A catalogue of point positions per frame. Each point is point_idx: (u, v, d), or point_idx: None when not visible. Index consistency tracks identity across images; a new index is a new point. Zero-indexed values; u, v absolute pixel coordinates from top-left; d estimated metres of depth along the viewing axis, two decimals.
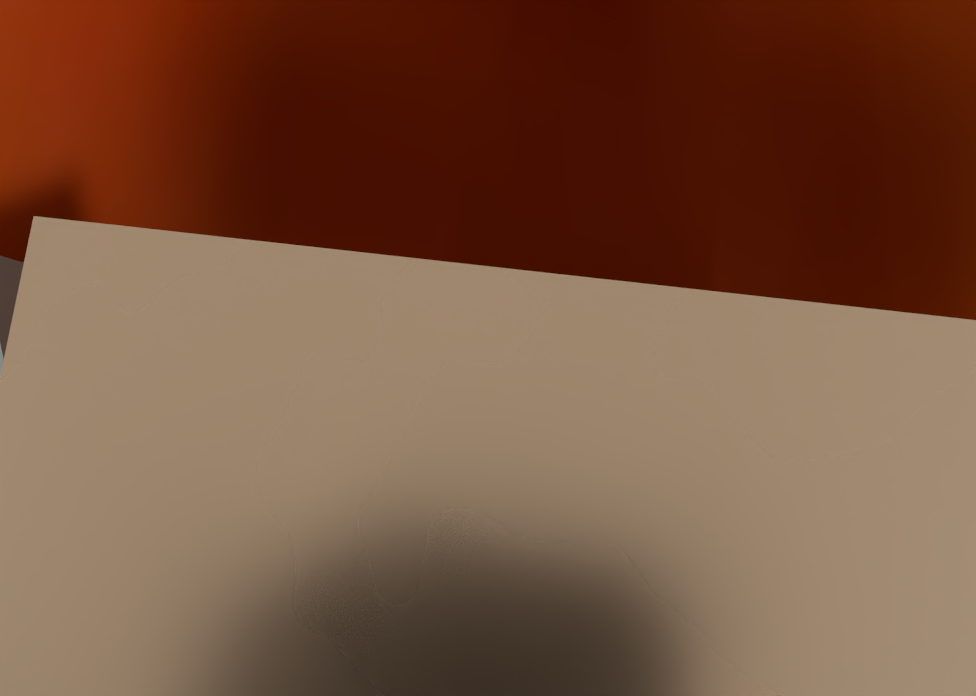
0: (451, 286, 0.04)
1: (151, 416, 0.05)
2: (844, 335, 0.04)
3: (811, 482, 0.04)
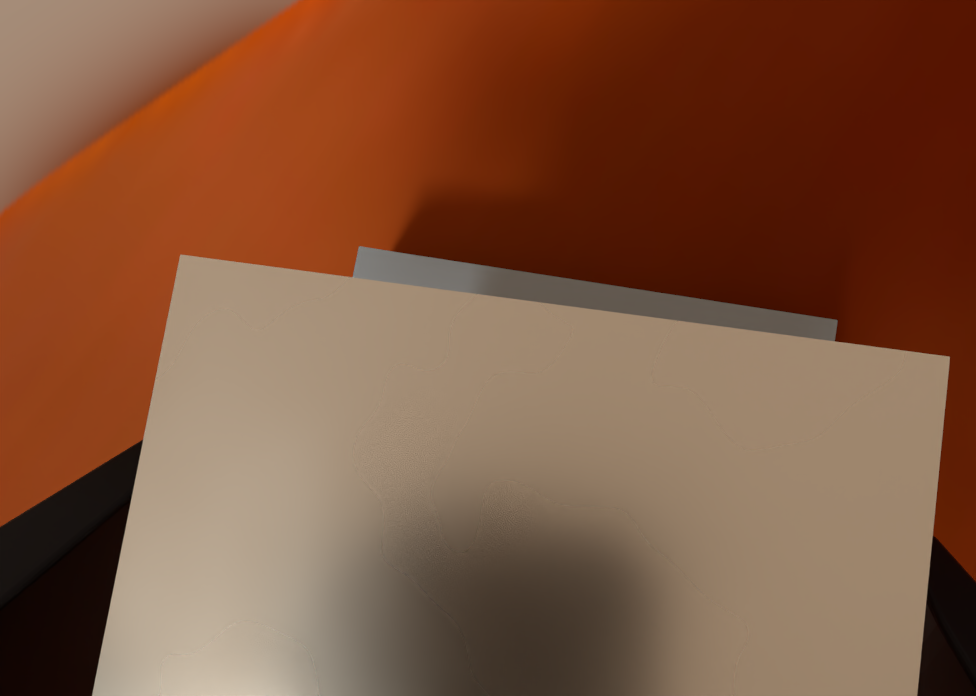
0: (502, 315, 0.06)
1: (273, 409, 0.06)
2: (792, 357, 0.06)
3: (766, 464, 0.06)
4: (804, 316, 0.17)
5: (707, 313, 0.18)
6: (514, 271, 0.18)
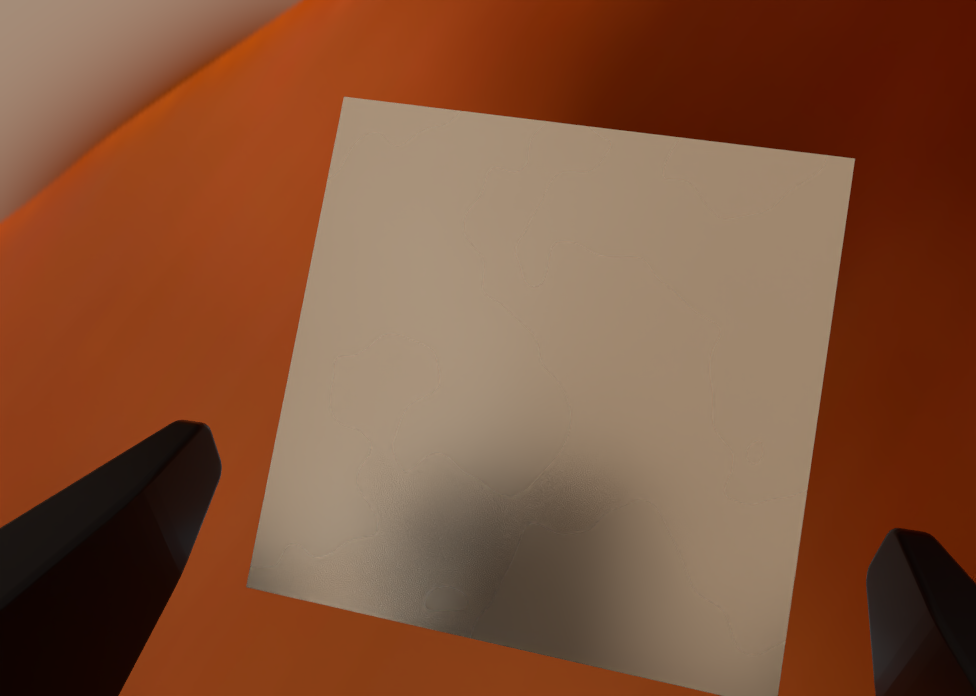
0: (564, 135, 0.09)
1: (409, 198, 0.09)
2: (754, 160, 0.09)
3: (735, 227, 0.09)
4: None
5: None
6: None
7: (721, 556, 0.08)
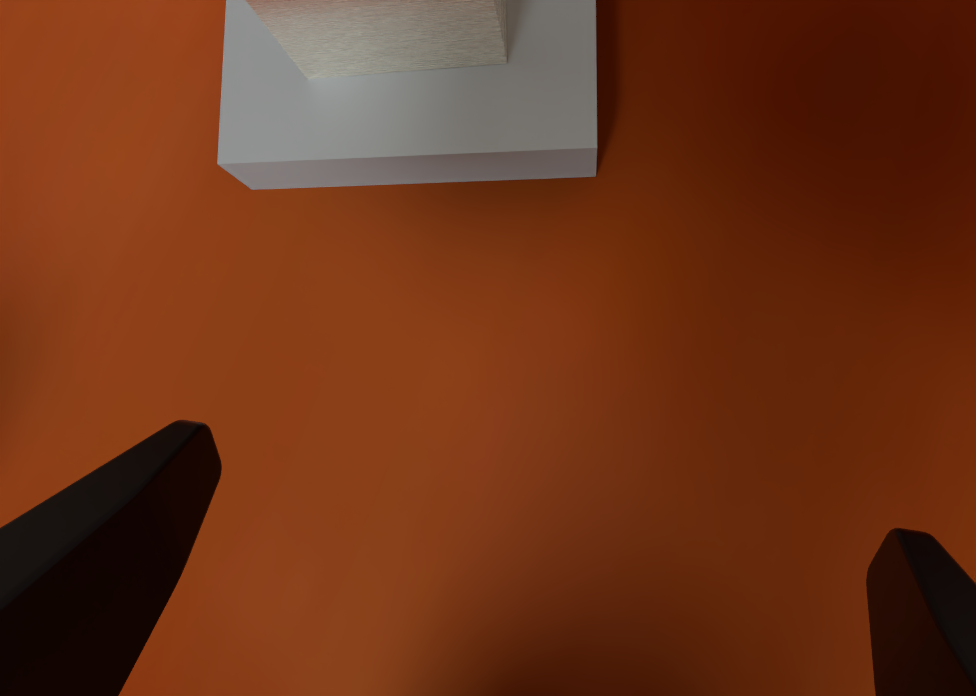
0: None
1: None
2: None
3: None
4: None
5: None
6: None
7: None
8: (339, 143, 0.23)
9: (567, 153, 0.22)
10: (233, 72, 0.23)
